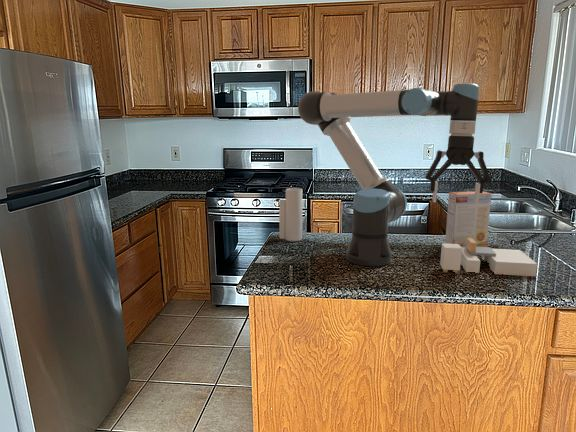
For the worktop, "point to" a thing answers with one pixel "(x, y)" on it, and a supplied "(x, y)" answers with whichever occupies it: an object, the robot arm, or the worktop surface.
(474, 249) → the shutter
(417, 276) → the worktop surface
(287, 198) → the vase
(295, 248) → the worktop surface
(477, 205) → the cracker box
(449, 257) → the plug
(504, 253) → the socket
